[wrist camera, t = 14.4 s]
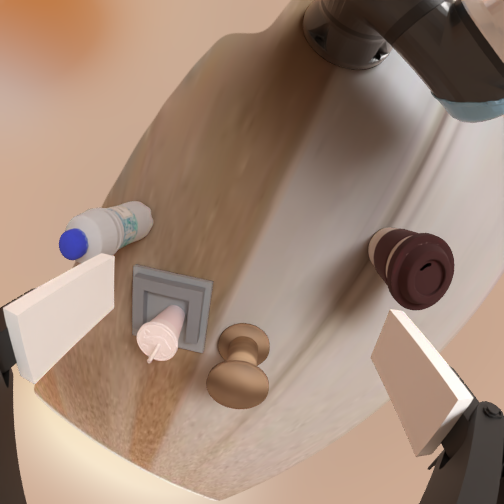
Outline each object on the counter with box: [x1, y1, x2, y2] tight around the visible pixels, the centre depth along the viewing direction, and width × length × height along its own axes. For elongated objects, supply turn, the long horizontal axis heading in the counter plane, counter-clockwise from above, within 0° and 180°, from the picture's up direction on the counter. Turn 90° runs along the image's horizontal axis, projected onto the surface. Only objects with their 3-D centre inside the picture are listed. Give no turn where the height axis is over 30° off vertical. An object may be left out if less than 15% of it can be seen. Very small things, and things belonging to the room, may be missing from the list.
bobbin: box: [206, 323, 269, 409], centre depth 44 cm, size 9×9×12 cm
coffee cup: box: [368, 227, 454, 310], centre depth 37 cm, size 10×10×15 cm
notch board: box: [132, 264, 213, 353], centre depth 48 cm, size 14×14×3 cm
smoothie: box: [137, 305, 185, 363], centre depth 42 cm, size 6×6×14 cm
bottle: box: [59, 201, 153, 263], centre depth 36 cm, size 7×7×20 cm
